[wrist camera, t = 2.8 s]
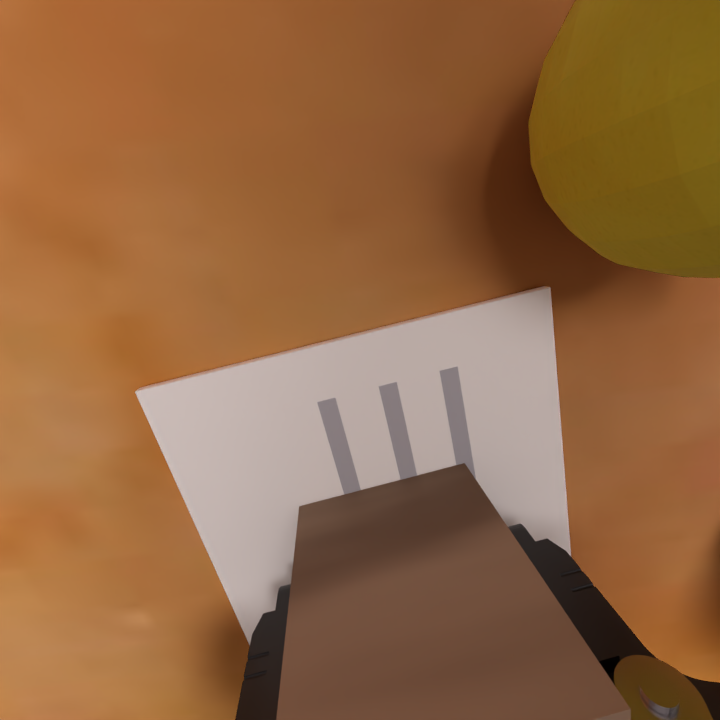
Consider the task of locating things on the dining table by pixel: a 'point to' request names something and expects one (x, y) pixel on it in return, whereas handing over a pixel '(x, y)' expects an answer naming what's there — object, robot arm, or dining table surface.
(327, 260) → the dining table surface
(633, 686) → the robot arm
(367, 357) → the letter
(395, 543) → the walnut block
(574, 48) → the lemon
